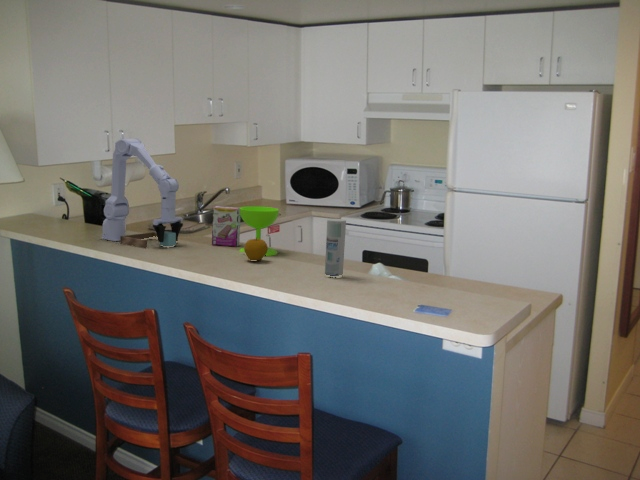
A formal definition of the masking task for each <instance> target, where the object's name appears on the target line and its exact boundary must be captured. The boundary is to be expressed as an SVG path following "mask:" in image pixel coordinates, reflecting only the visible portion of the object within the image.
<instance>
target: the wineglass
mask: <svg viewBox="0 0 640 480" xmlns="http://www.w3.org/2000/svg"><path fill="white" fill-rule="evenodd" d="M238 208H239V209H240V219H241V220H243V222H244V223H245V224H246V225H247V226H248V227H251V228H253V229H255V239H256V238H257V239H261V240H262V237H261V236H262V235H261V234H262V233H261V232H262V229H265V228H268V227H269V226H271V225H272V224H274V222H275V221H276V220H277V218H278V217H279V216H278V215H279V211H280V209H279V208H276V207H270V206H269V207H268V206H241V207H238ZM238 251H240V252H245V250H244V247H242V248H240V249H238ZM265 255H266V256H265V257H270V256H271V257H272V256H277V255H278V251H277V250H276V249H274V248H270V247H268V250H267V253H266V254H265Z"/></svg>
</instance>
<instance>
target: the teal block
mask: <svg viewBox="0 0 640 480" xmlns="http://www.w3.org/2000/svg"><path fill="white" fill-rule="evenodd" d="M160 245H163V246H173V245H177V244H176V233H174V232H172V231H165V232H164V241H163V242H159V246H160Z"/></svg>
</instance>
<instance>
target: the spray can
mask: <svg viewBox="0 0 640 480" xmlns="http://www.w3.org/2000/svg"><path fill="white" fill-rule="evenodd" d="M346 227H347V219H342V218H328V219H327V220H326V239H325V242H326V244H325V263H324V264H325V265H324V275H325V274H326V275H330V276H339V275H342V274H343V275H344V259H345V244H346V230H347V229H346Z"/></svg>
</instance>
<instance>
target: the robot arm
mask: <svg viewBox="0 0 640 480" xmlns="http://www.w3.org/2000/svg"><path fill="white" fill-rule="evenodd" d="M145 146H146V145H145V144H144V143H143V142H142V140H140V139H139V138H119V139H118V140H117V141H116V142H115V143H114V151H113V153H112V164H111V165H112V166H111V167H112V168H111V189H110V190H111V191H110V196H109V197H108V198H107V199H106V200H105V205H104V208H103V215H104V217H105V219H104V220H103V223H102V236H101V237H100V239H102V240H108V241H112V242H120V236H126V219H127V216H128V215H129V214H130V206H129V200H128V199H127V198H126V197H125V193H126V192H125V190H126V173H127V172H126V171H127V160H129V159H130V158H131V157H132V156H133V157H137V158H138V159H139V160H140V161H141V162H142V163H143V164H144V165H145V167H147V169H148V171H149V172H148V173H149V175H150V176H151V178H152V179H153V180H154V181H155V182H156V183H157V188H158V191H159V192H160V201H161V202H160V216H161V217H160V218H158V219H152V227H153V229H154V232H155V233H157V237H158V240H157V241H158V243H160V242H163V241H164V232H166V231H165V230H166V228H167V226H166V225H168V224H169V225H170V228H171V232H174V233H176V240H177V238H178V239H179V235H180V231H181V229H182V227H183V226H184V223H183V221H184V218H183V217H180V216H179V217H176V205H177V204H176V202H177V201H176V198H177V197H176V196H177V194H176V193H177V192H178V190H179V187H180V186H179V185H180V184H179V182H178V180H177V179H176V178H173V177H172V176H171V175H170V174H169V173H167V171H166V170H165V167H164V166H163V165H161V164H157V163H156V162H155V160H154V159H153V158H152V156H151V155H150V154H149V152H148V151H147V150H146V148H145Z"/></svg>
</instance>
